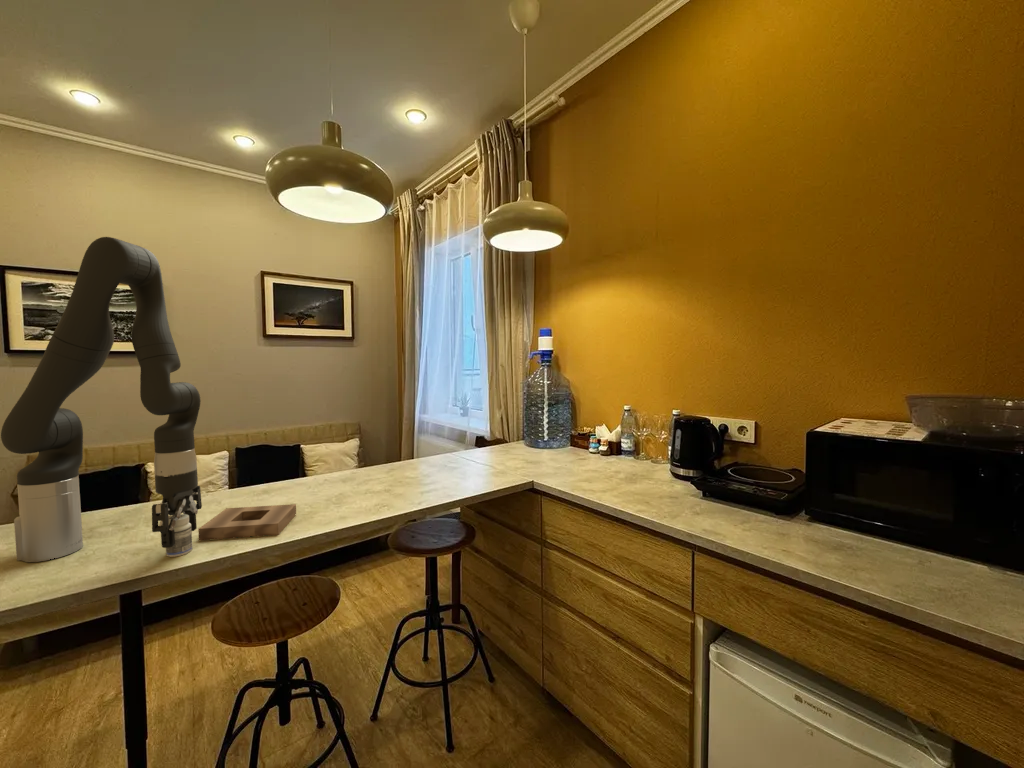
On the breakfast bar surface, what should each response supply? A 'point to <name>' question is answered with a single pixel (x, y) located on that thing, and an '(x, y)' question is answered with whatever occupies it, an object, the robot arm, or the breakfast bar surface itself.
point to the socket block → (248, 522)
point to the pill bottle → (181, 537)
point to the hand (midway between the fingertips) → (180, 538)
